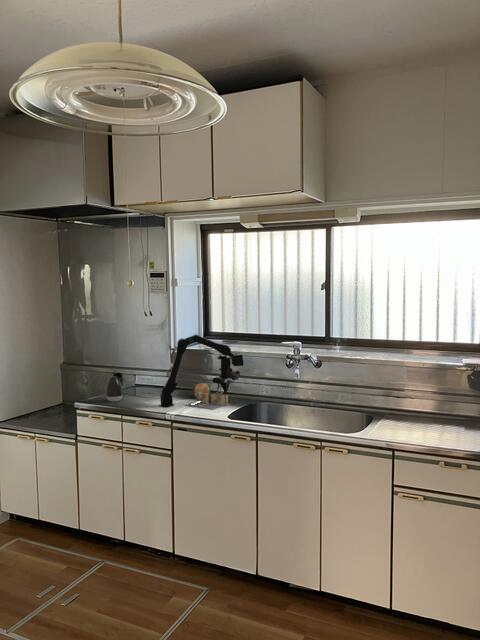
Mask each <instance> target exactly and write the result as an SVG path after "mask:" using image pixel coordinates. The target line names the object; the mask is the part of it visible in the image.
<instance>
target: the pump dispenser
mask: <svg viewBox="0 0 480 640" xmlns="http://www.w3.org/2000/svg"><path fill="white" fill-rule="evenodd" d="M123 378H124V377H118V376H116V375H112V376H110V378H108V381H107V384H106V388H105V397H106V399H107V400H108V401H109V402H111V403H112V402H113V403H115V402H119V401H121V400H122V398H123V396H124V391H123V386H122V383H121V380H123Z"/></svg>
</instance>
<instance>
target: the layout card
mask: <svg viewBox="0 0 480 640" xmlns="http://www.w3.org/2000/svg"><path fill="white" fill-rule="evenodd" d="M191 403H192V402H190V403H186V405H188V406H187V407H191V406H194V407H193V408H198V409H205V410H206V409H207V410H211V411H212V410H213V411H214V410H216V409H221V408H223V407H225V406H229V405H230V403H228V404H221V403H214V402H212V403H209V402H207V401H201V402H200V403H197V404H195V405H191Z"/></svg>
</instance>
